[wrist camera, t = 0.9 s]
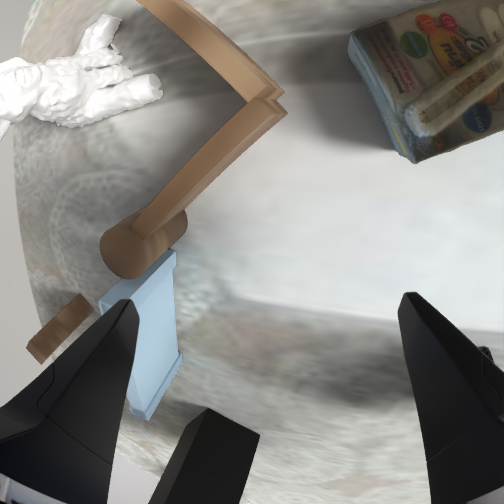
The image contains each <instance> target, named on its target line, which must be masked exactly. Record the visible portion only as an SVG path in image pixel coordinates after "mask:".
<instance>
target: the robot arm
mask: <svg viewBox="0 0 504 504" xmlns="http://www.w3.org/2000/svg"><path fill="white" fill-rule="evenodd" d="M398 320H399V325H400V331H401V337H402V344H403V350H404V356H405V360H406V364H407V368H408V372H409V376H410V380H411V384H412V389H413V393H414V397H415V402H416V407H417V411H418V416H419V421H420V427H421V432H422V438H423V443H424V449H425V456H426V461H427V470H428V478H429V486H430V495H431V504H504V372H503V371H502V370H501V369H500V368H499V367H498V366H497V365H495V364H494V361H493V358H492V355H491V353H490V350H489V348H487V347H486V348H483V349H482V350H480V349H479V348H478V347H477V346H476V345H475V344H474V343H473V342H471V341H470V340H469V339H468V338H467V337H466V336H465V335H464V334H463V333H462V332H461V331H460V330H459V329H458V328H456V327H455V326H454V325H453V324H452V323H451V322H450V321H449V320H448V319H447V318H445V317H444V316H443V315H442V314H441V313H440V312H439V311H438V310H437V309H435V308H434V307H433V306H432V305H431V304H430V303H429V302H427V301H426V300H425V299H424V298H423V297H422V296H421V295H419V294H418V293H417V292H406V293H404V295H403V297H402V300H401V303H400V306H399V308H398ZM139 324H140V317H139V314H138V311H137V309H136V307H135V304H134V302H133V301H132V300H131V299H120V300H119V301H117V302H116V303H115V304H114V305H113V306H112V307H111V308H110V309H109V310H108V311H106V312H105V313H104V314H103V315H102V316H101V317H100V318H99V319H98V320H97V321H96V322H95V323H93V324H92V325H91V326H90V327H89V328H88V329H87V330H86V331H85V332H84V333H83V334H82V335H81V336H80V337H78V338H77V339H76V340H75V341H74V342H73V343H72V344H71V345H70V346H69V347H68V348H67V349H66V350H65V351H64V352H63V353H62V354H61V355H60V356H59V357H58V358H57V359H56V360H55V361H54V362H53V363H52V364H50V365H49V366H48V367H47V368H46V369H45V370H44V371H43V372H42V373H41V374H40V375H39V376H38V377H37V378H36V379H35V380H33V381H32V382H31V383H30V384H29V385H28V386H27V387H25V388H24V389H23V390H22V391H21V392H20V393H18V394H17V395H16V396H15V397H13V398H12V399H11V400H10V401H9V402H8V403H6V404H5V405H4V406H2V407H0V504H107V499H108V492H109V485H110V477H111V471H112V464H113V458H114V453H115V447H116V442H117V437H118V431H119V426H120V421H121V417H122V412H123V407H124V402H125V398H126V393H127V389H128V385H129V380H130V376H131V372H132V368H133V363H134V358H135V352H136V344H137V337H138V330H139ZM485 352H486V353H485Z"/></svg>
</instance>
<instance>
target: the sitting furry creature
mask: <svg viewBox="0 0 504 504" xmlns="http://www.w3.org/2000/svg"><path fill="white" fill-rule="evenodd" d="M121 21H122V20H121V19H118V18H116V17H114V16H111V15H107V14H102V15H101V16H100V17H99V18H98V20H97V21H96V22H95V23H94V24H92V25H91V26H90V27H89V28H87V30H86V31H85V34H84V37H83V38H82V40H81V41H80V43H79V47H78V49H77V51H76V53H75V54H74V55H73V56H69V57H56V58H55V59H53V60H51V59H47V60H46V62H44V63H37V64H36V65H35V64H32V63H27V62H26V61H24V60H23V59H21V58H19V57H14V58H12V59H9V60H7V61H5V62H3V63H0V141H1V140H2V139H3V137H4V135H5V133H6V132H7V130H8V127H9V125H12V124H15V123H18V122H21V121H22V120H23V119H24V118H25V117H26V116H27V115H29V114H30V115H31V116H33V117H35V118H38V119H39V120H42V121H50V122H57V126H60V125H62V126H63V127H64V126H67V127H69V128H70V129H72V128H74V127H83V126H84V125H91V124H92V123H93V122H95V121H101V119H102V118H108V117H109V116H114V115H116V114H119V113H121V112H122V111H124V110H132V109H135V108H140V107H142V106H143V105H144V104H146V103H150V102H154V101H156V100H158V99H160V98H161V97H162V95H163V89H159V88H160V87H161V86H162V83H161V82H160V80H159V78H158V77H157V76H156V75H155V74H152V73H151V74H143V75H141V76H136V77H135V76H134V75H133V74H132V73H133V72H132V71H131V70H130V69H128V68H129V67H128V66H126V65H121V64H120V62H121V61H122V59H123V56H119V55H118V54H120V53H121V52H120V51H118V50H117V49H116V47H115V45H114V44H113V42H112V41H113V38H114V34H115V33H116V31H117V30H118V28H119V25H120V23H121ZM109 44H110V45H111V46H112V48H113V49H114V50H109V49H107V48H108V46H109ZM110 85H111V86H110Z"/></svg>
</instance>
